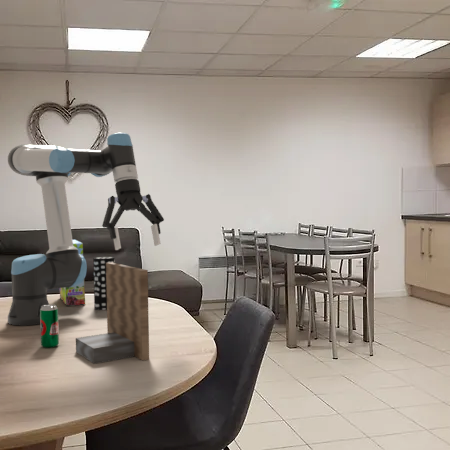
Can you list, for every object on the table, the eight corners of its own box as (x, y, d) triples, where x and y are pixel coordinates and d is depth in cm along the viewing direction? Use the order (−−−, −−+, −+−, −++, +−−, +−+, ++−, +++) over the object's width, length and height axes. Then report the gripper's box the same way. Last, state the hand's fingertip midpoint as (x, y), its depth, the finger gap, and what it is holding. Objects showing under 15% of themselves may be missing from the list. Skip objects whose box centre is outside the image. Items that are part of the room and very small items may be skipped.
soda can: (53, 348, 164) (52, 307, 163) (37, 348, 165) (36, 307, 164) (62, 344, 169) (61, 304, 168) (46, 343, 170) (45, 303, 169)
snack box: (57, 298, 249) (56, 240, 248) (78, 296, 253) (76, 239, 252) (64, 306, 230) (62, 243, 228) (86, 304, 233) (84, 242, 232)
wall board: (70, 348, 164) (68, 265, 163) (113, 341, 172) (112, 262, 171) (101, 368, 144) (99, 274, 143) (149, 359, 152) (147, 270, 151)
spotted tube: (96, 306, 230) (94, 257, 229) (116, 305, 230) (115, 256, 229) (93, 310, 221) (91, 259, 220) (114, 309, 222) (113, 258, 221)
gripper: (93, 178, 169) (105, 248, 166) (166, 176, 183) (178, 240, 180) (84, 186, 175) (96, 253, 172) (155, 183, 189) (167, 245, 186)
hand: (138, 247), depth 176 cm, fingers open, 13 cm apart
